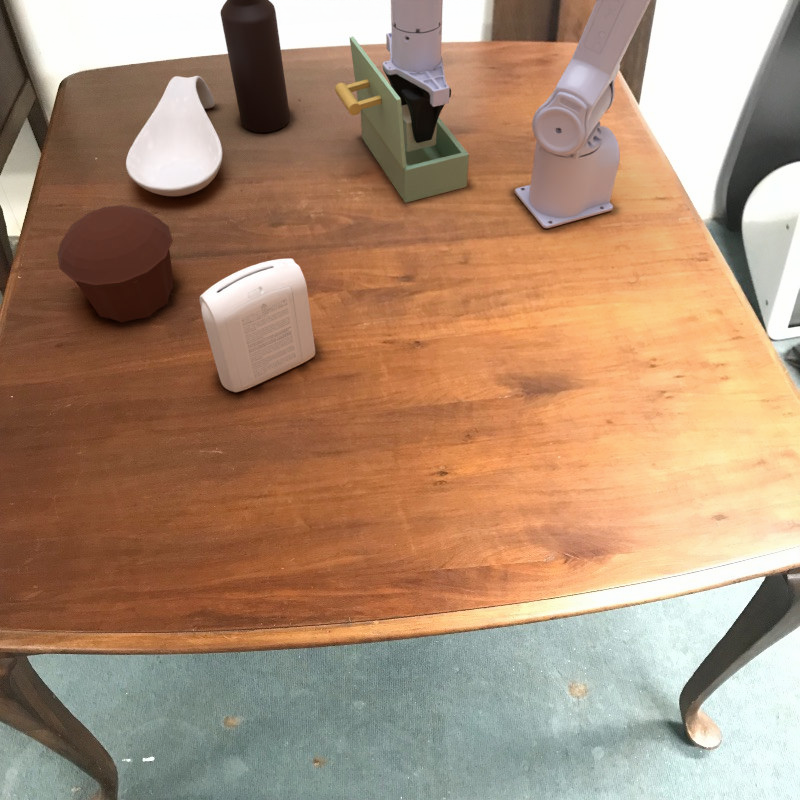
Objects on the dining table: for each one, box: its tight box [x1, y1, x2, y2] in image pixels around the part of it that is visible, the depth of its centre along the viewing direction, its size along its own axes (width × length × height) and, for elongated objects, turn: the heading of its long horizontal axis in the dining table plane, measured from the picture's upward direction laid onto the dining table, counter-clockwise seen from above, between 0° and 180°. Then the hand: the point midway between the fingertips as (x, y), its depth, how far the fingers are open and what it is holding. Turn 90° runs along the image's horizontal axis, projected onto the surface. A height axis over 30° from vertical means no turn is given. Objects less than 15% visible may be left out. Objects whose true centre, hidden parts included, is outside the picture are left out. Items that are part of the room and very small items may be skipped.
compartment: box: [360, 109, 470, 204], centre depth 99 cm, size 8×15×5 cm, turn 22°
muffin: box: [57, 204, 174, 323], centre depth 82 cm, size 12×11×10 cm
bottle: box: [219, 0, 291, 134], centre depth 99 cm, size 7×7×20 cm
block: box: [401, 105, 437, 152], centre depth 97 cm, size 4×4×4 cm
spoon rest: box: [125, 75, 224, 197], centre depth 99 cm, size 24×12×7 cm, turn 3°
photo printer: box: [199, 258, 316, 393], centre depth 74 cm, size 10×4×12 cm, turn 123°
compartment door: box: [334, 35, 406, 168], centre depth 92 cm, size 9×15×5 cm
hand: (416, 130), depth 97 cm, fingers closed on block, 4 cm apart
